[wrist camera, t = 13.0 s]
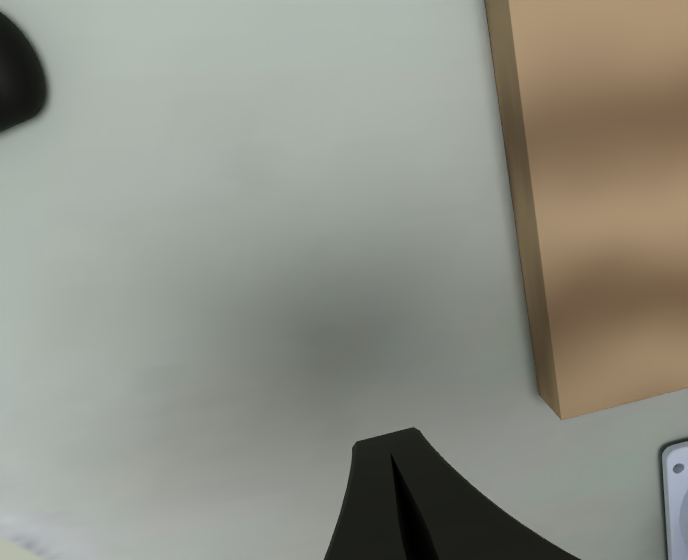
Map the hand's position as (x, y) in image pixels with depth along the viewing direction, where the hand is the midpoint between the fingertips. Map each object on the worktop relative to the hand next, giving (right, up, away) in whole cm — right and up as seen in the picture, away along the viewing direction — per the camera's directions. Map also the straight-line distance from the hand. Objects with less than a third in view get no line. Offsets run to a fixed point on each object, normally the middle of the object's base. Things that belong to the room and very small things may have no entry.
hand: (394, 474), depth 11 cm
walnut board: (+10, +10, +9) cm, 16 cm away
